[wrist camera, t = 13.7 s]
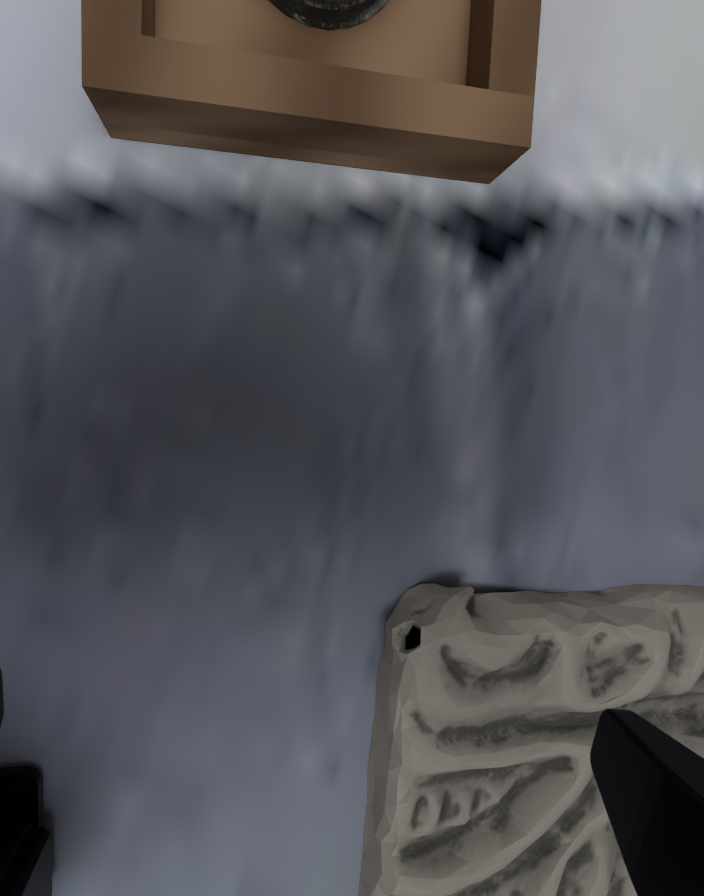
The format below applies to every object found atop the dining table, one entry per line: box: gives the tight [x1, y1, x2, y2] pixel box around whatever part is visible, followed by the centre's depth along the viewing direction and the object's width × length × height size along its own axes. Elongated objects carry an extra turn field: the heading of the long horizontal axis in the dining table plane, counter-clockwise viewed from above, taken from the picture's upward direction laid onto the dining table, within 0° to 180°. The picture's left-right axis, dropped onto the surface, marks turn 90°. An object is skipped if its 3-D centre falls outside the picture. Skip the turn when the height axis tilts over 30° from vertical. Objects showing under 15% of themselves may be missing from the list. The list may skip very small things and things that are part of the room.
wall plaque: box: [358, 583, 704, 896], centre depth 22 cm, size 24×19×4 cm
